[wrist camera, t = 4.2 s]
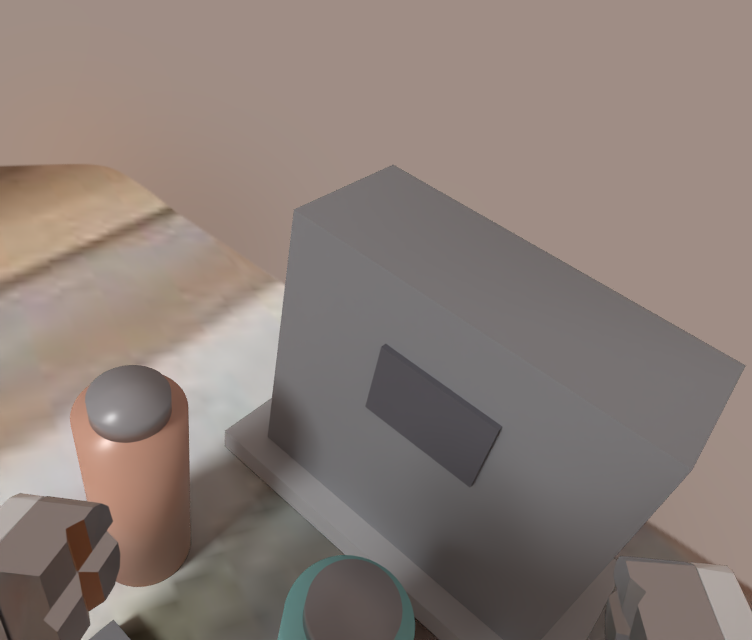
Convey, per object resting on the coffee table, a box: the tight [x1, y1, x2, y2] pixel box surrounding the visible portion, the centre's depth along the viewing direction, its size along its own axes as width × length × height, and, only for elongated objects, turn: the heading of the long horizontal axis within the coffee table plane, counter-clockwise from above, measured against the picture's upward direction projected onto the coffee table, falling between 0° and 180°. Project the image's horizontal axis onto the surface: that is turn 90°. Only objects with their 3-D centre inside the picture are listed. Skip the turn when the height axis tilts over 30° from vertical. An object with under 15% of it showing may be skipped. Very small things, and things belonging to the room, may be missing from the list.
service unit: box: [225, 165, 745, 640], centre depth 32 cm, size 22×10×18 cm, turn 50°
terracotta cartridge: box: [70, 365, 191, 587], centre depth 29 cm, size 4×4×12 cm
